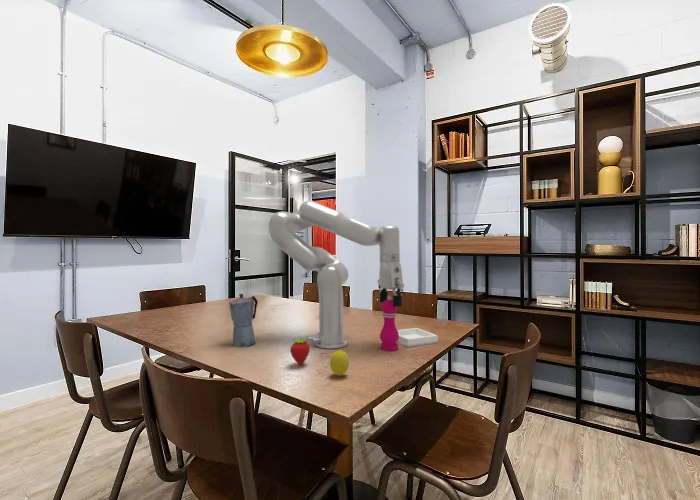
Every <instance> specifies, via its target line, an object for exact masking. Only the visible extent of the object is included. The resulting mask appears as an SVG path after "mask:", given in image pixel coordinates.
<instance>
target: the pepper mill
mask: <svg viewBox="0 0 700 500" xmlns="http://www.w3.org/2000/svg"><path fill="white" fill-rule="evenodd" d="M387 299H388V300H385V301H383V303H381V305H380V306H381V307H380V308H381V311H382V317H383V325H382V328H381V330H380V334H379V339H380V341H381V344H380V348H381V349H382V350H384V351H389V352H390V351H391V352H393V351H397V350H398V347H399V343H398V342H397V341H398V340H399V334H398V331H397V330H398V329H397V327H396V323H395V322H396V321H395V320H396V317H397V313H396V311H397V310H398V306H396V307H394V306H393V296H391V295H388V296H387Z"/></svg>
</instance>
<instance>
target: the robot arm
mask: <svg viewBox="0 0 700 500" xmlns="http://www.w3.org/2000/svg"><path fill="white" fill-rule="evenodd" d="M314 226H316V227H318V228H321V229H323V230H325V231H328V232H330V233H332V234H334V235H337V236H340V237H342V238H344V239H346V240H349V241H351V242H354V243H356V244H358V245H361V246H364V247H373V246H377V245H379V248H378V249H379V271H378V272H379V273H378V274H379V275H378V276H379V277H378V278H379V279H377V284H378V289H379V291H378V292H379V303H381V304H382V303H383V301H385V300H388V299H387V296H389V293H388V290H389V291H392V293H393V296H392V300H393V306H394V307H396V306H397V307H402V295H403V292H404V288H405V284H404V282H403V281H404V279H403V270H402V264H401V260H400V259H401V258H400V257H401V256H400V255H401V254H400V251H401V250H400V229H399V227H398V226H397V225H384V226H380V227H377V226H371V225H367V224H365V223H362V222H360V221H357V220H355V219H354V218H353V219H352V218H350V217H349V216H347V215H345V214H344V213H342V212H341V211H338V210H337V209H333V208H331V207H328V206H325V205H324V204H321V203H319V202H316V201H313V200H306V201H304V202H302V203H301V205H300V206H299V208H298V210H297V211H294V212H290V211H289V212H288V211H277V212H275V213H273V214H272V215H271V216H270V218H269V221H268V233H269V235H270V238H271V240H272V241H273V243H274V244H275V245H276V246H277V247H278V248H279V249H280V250H282V251H283V252H284V253H285V254H286V255H288V256H289V257H290V258H291V259H292V260H293V261H295V262H296V263H297V264H298V265H299V266H301V268H303V269H304V270H306V271H309V272H310V271H311V272H314V271H315V272H317V278H316V279H317V282H316V283H317V288H318V305H319V307H318V310H319V311H318V313H319V314H318V317H319V319H318V320H319V321H318V323H319V324H318V325H319V326H318V327H319V330H318V332H317V333H316V334H315V335H310V336H309V335H308V336H307V337H306V339H307V340H306V341H308V342H312V343H315V346H316V347H318V348H321V349H329V350H331V349H332V350H333V349H341V348H344V347H346V346H348V340H347V339H346V338H344V327H345V326H344V290H343V284H345V283H346V282H347V281H348V279H349V271H348V268H347V266H346V265H345V264H344V263H342V262H341V261H340V260H339V259H337V258H336V257H335V256H333V254H331V253H330V252H328V251H327V250H325V249H324V248H323V247H319V246H312V245H310V244H309V243H307V241H305V240H304V239H303V238H302V237H300V236H299V235H297V234H296V233H299V232H302V231H304V230H307V229H308V228H311V227H314ZM308 342H307V343H308Z"/></svg>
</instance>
